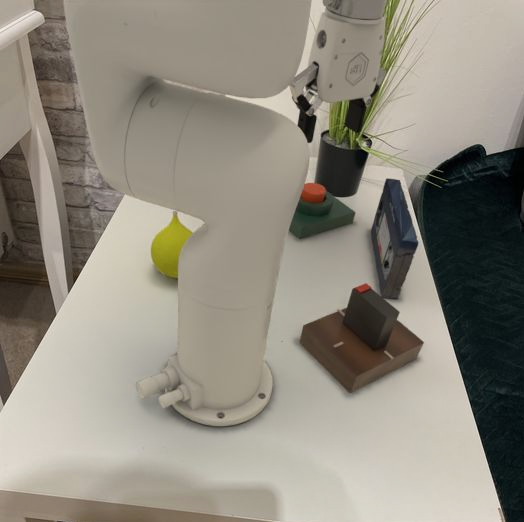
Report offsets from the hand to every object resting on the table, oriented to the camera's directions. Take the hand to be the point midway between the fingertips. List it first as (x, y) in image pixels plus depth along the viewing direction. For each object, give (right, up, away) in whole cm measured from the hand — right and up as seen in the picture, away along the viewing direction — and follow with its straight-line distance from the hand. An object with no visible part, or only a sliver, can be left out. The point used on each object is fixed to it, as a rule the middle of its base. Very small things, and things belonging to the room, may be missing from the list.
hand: (328, 134), depth 80 cm
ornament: (-23, -22, -4) cm, 32 cm away
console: (+2, -33, -11) cm, 35 cm away
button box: (-2, -10, +11) cm, 15 cm away
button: (-2, -7, +9) cm, 11 cm away
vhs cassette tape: (+9, -19, +4) cm, 22 cm away
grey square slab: (+3, -31, -13) cm, 34 cm away
